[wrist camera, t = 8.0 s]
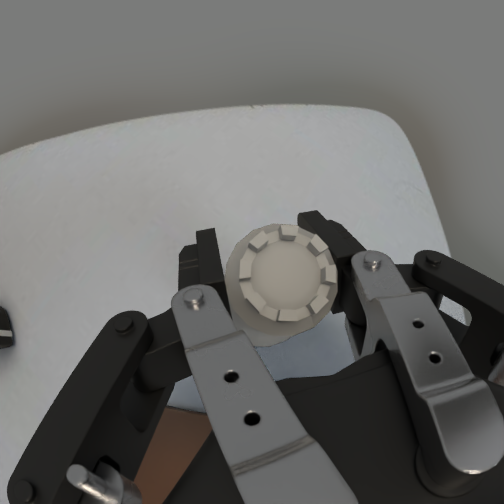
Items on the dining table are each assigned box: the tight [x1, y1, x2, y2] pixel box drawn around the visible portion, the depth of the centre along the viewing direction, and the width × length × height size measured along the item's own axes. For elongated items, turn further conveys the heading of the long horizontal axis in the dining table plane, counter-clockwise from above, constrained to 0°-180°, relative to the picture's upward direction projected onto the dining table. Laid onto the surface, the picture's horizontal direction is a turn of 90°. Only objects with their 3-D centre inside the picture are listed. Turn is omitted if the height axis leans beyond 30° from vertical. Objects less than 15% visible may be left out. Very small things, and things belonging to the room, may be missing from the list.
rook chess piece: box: [224, 224, 338, 347], centre depth 12 cm, size 4×4×8 cm
